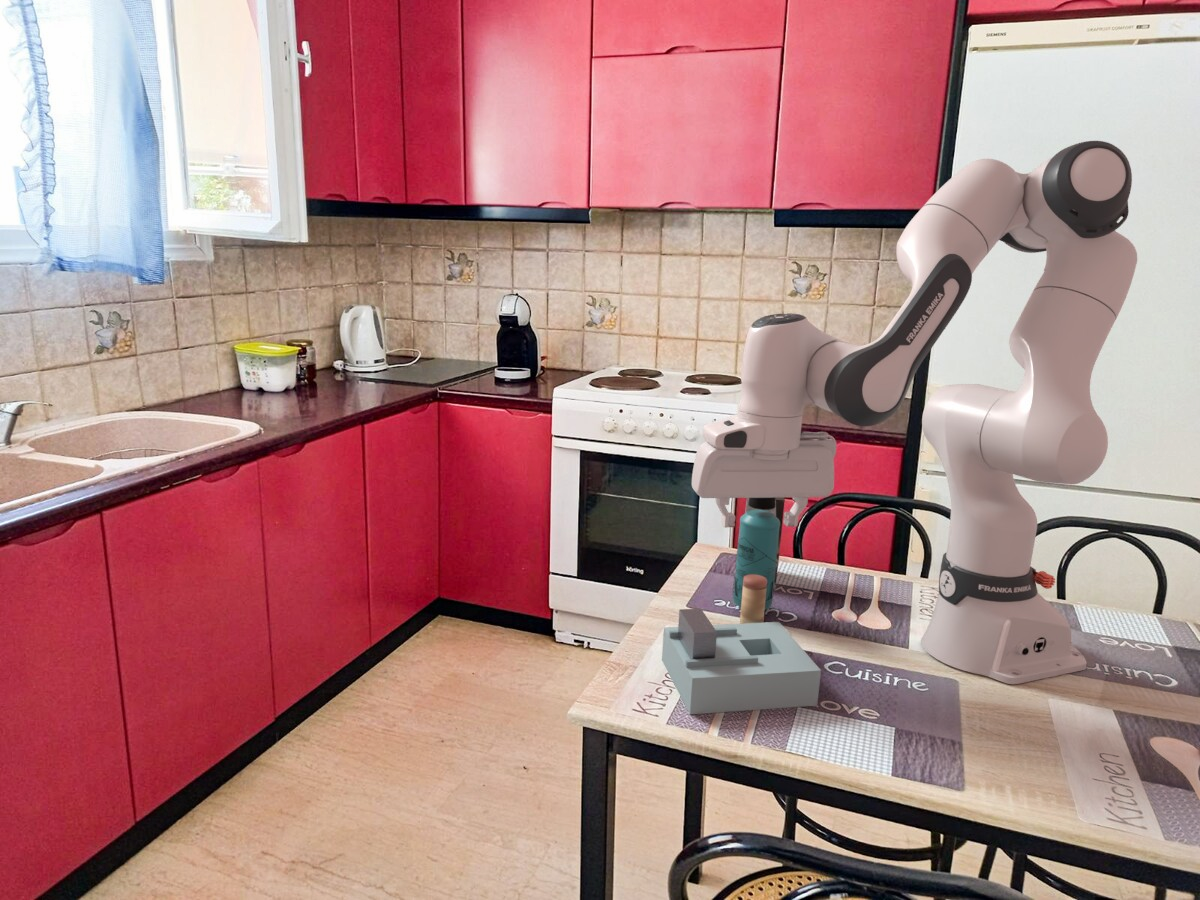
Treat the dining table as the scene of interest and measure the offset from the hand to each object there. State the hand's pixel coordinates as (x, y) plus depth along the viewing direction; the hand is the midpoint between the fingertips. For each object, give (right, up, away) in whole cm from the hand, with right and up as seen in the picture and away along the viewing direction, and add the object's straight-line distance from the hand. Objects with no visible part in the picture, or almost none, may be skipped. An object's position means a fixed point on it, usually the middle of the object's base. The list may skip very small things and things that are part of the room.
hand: (759, 525), depth 121 cm
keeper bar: (-10, -15, -9) cm, 21 cm away
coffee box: (+5, -12, +28) cm, 31 cm away
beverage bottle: (+2, -15, +15) cm, 21 cm away
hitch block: (-4, -20, -7) cm, 22 cm away
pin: (-1, -18, +4) cm, 18 cm away
